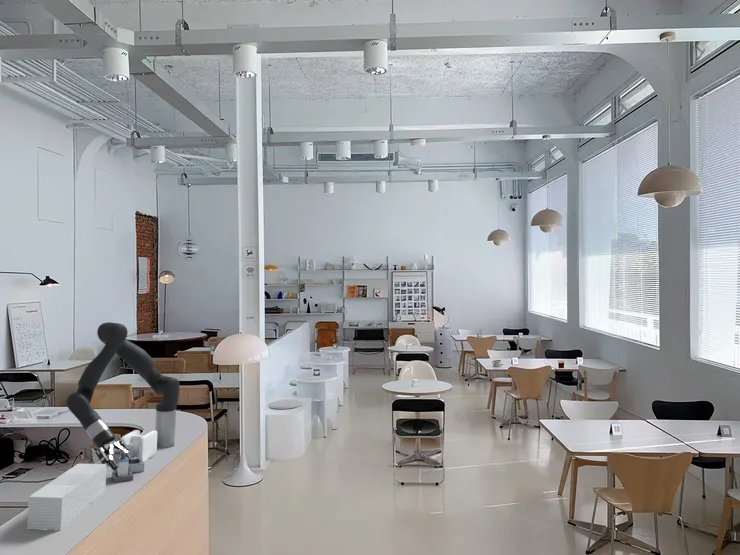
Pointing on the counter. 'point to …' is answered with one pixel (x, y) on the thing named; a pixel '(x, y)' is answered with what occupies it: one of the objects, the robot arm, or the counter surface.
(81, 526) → the counter surface
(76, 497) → the stack of papers
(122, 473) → the plug
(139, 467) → the port
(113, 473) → the holster
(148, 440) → the cable organizer
